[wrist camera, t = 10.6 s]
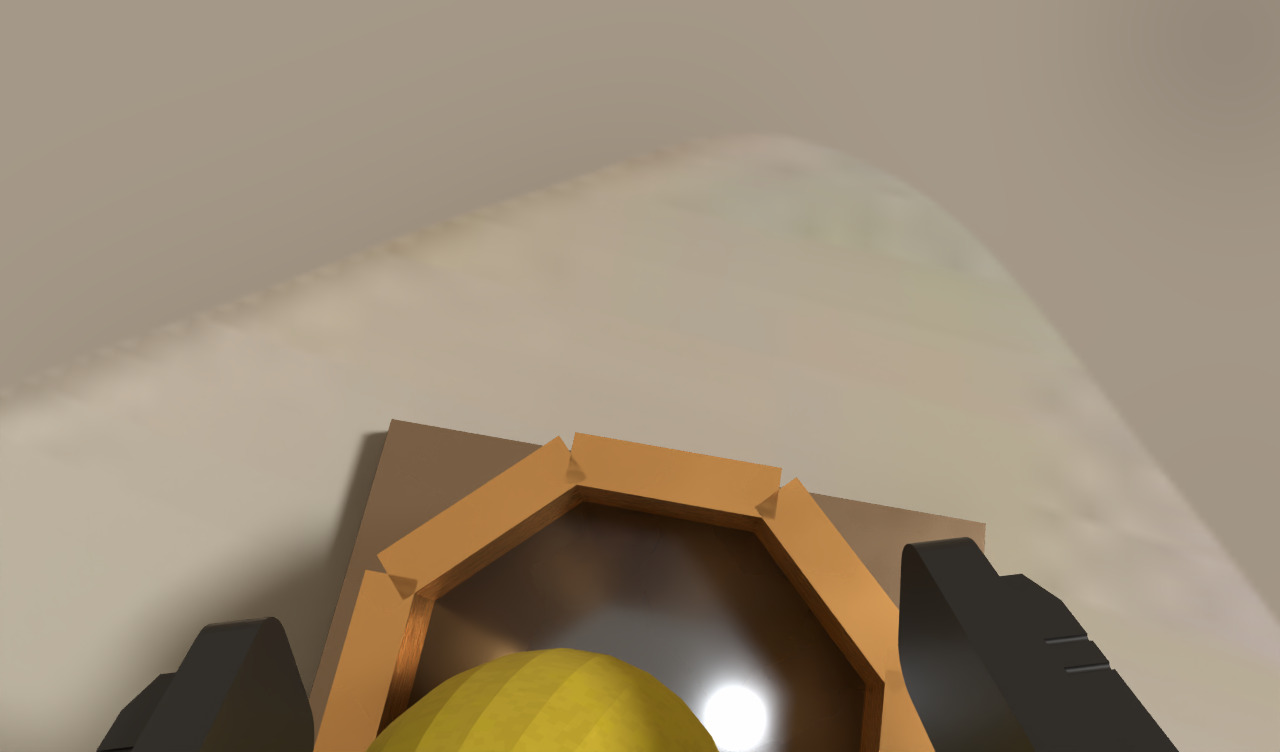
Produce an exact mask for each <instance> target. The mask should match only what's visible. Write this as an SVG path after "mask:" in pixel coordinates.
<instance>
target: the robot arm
mask: <svg viewBox="0 0 1280 752" xmlns="http://www.w3.org/2000/svg"><path fill="white" fill-rule="evenodd" d="M898 651H899V659H900V665H901V670H902V674H903V678H904V682H905V685H906V688H907V691H908V693H909V696H910V698H911V700H912V702H913V705H914V707H915V709H916V711H917V713H918V715H919V718H920V720H921V722H922V724H923V726H924V728H925V730H926V733H927V735H928V737H929V739H930V741H931V743H932V746H933V748H934V750H935V752H1179V751H1178V750H1177V749H1176V747H1175V746H1174V745H1173V743H1172V742H1171V741H1170V740H1169V738H1168V737H1167V736H1166V734H1165V733H1164V732H1163V731H1162V729H1161V728H1160V727H1159V725H1158V724H1157V723H1156V722H1155V720H1154V719H1153V718H1152V716H1151V715H1150V714H1149V713H1148V711H1147V710H1146V709H1145V707H1144V706H1143V705H1142V704H1141V702H1140V701H1139V700H1138V698H1137V697H1136V696H1135V695H1134V693H1133V692H1132V691H1131V689H1130V688H1129V687H1128V686H1127V684H1126V683H1125V682H1124V680H1123V679H1122V678H1121V677H1120V675H1119V674H1118V673H1117V671H1116V670H1115V669H1113V670H1111V668H1110V666H1109V661H1108V660H1107V659H1106V657H1105V656H1104V655H1103V653H1102V652H1101V651H1100V649H1099V648H1098V647H1097V646H1096V644H1095V643H1094V642H1093V641H1089V640H1088V637H1087V633H1086V631H1085V630H1084V629H1083V628H1082V626H1081V625H1080V624H1079V622H1078V621H1077V620H1076V619H1075V617H1074V616H1073V615H1072V613H1071V612H1070V611H1069V610H1068V608H1067V607H1066V606H1065V604H1064V603H1063V602H1062V601H1061V600H1060V599H1059V598H1057V597H1056V596H1054V595H1053V594H1051V593H1050V592H1048V591H1047V590H1045V589H1044V588H1042V587H1041V586H1039V585H1038V584H1036V583H1035V582H1033V581H1032V580H1030V579H1029V578H1027V577H1026V576H1024V575H1023V574H1016V575H1008V576H999V575H998V574H997V572H996V571H995V569H994V568H993V567H992V565H991V564H990V562H989V561H988V559H987V558H986V557H985V555H984V554H983V552H982V551H981V550H980V548H979V547H978V545H977V544H976V543H975V542H974V540H972V539H971V538H969V537H959V538H951V539H942V540H934V541H925V542H917V543H908V544H906V545H905V546H904V548H903V551H902V558H901V579H900V604H899V629H898ZM313 750H314V721H313V715H312V711H311V707H310V704H309V701H308V698H307V695H306V692H305V689H304V686H303V683H302V681H301V678H300V675H299V672H298V669H297V666H296V663H295V660H294V657H293V654H292V651H291V648H290V645H289V642H288V639H287V636H286V633H285V631H284V628H283V626H282V624H281V623H280V622H279V620H278V619H276V618H275V617H266V618H257V619H249V620H240V621H232V622H223V623H215V624H209V625H207V626H205V627H204V628H203V629H202V630H201V631H200V633H199V634H198V636H197V638H196V639H195V641H194V643H193V645H192V646H191V648H190V650H189V652H188V653H187V655H186V657H185V659H184V660H183V662H182V664H181V666H180V667H179V669H178V671H177V672H176V673H168V674H160V675H159V676H158V677H157V678H156V679H155V680H154V681H153V682H152V683H151V684H150V685H149V686H147V687H146V688H145V689H144V690H143V691H142V692H141V693H140V694H139V695H138V696H137V697H136V698H135V699H133V700H132V701H131V702H130V703H129V704H128V705H127V706H126V707H125V708H124V709H123V710H122V711H121V712H120V714H119V715H118V717H117V719H116V720H115V722H114V723H113V725H112V727H111V728H110V730H109V731H108V733H107V735H106V736H105V738H104V739H103V741H102V743H101V744H100V746H99V748H98V749H97V752H313Z"/></svg>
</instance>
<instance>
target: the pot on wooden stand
mask: <svg viewBox="0 0 1280 752" xmlns="http://www.w3.org/2000/svg"><path fill="white" fill-rule="evenodd" d="M781 470H782V468H777V467H772V466H766V465H760V464H754V463H749V462H743V461H737V460H731V459H726V458H720V457H714V456H708V455H703V454H697V453H691V452H685V451H680V450H674V449H668V448H662V447H657V446H651V445H645V444H640V443H634V442H628V441H622V440H617V439H611V438H605V437H599V436H594V435H588V434H582V433H576V432H575V436H574V441H573V445H572V450H571V451H570V450H568V448H567V447H566V445H565V444H564V442H563V441H562V440H561V438H560V437H559V436H558V437H556V438H555V439H553V440H552V441H550V442H549V443H547V444H546V445H544V446H542V445H536V444H530V443H524V442H519V441H513V440H507V439H502V438H496V437H490V436H485V435H479V434H473V433H468V432H462V431H456V430H451V429H445V428H439V427H434V426H428V425H422V424H417V423H411V422H405V421H399V420H394V419H392V420H391V423H390V427H389V430H388V433H387V437H386V440H385V444H384V447H383V450H382V454H381V457H380V461H379V464H378V467H377V471H376V474H375V477H374V481H373V484H372V488H371V491H370V494H369V498H368V501H367V504H366V508H365V511H364V515H363V518H362V521H361V525H360V528H359V532H358V535H357V538H356V542H355V545H354V548H353V552H352V555H351V559H350V562H349V565H348V569H347V572H346V575H345V579H344V582H343V586H342V589H341V592H340V596H339V599H338V603H337V606H336V609H335V613H334V616H333V619H332V623H331V626H330V630H329V633H328V636H327V640H326V643H325V647H324V650H323V653H322V657H321V660H320V663H319V667H318V670H317V674H316V677H315V680H314V684H313V687H312V690H311V694H310V697H309V704H310V707H311V711H312V715H313V721H314V750H313V752H365V751H366V750H367V749H368V747H369V746H370V745H371V743H372V742H373V741H374V740H375V739H376V738H377V737H378V736H379V735H380V734H381V733H382V731H383V730H384V729H385V728H387V727H388V726H389V725H390V724H391V723H392V722H393V721H394V720H395V719H396V718H398V717H399V716H400V715H401V714H403V713H404V712H405V711H406V710H408V709H409V708H410V707H412V706H413V705H414V704H415V703H417V702H418V701H419V700H420V699H422V698H423V697H424V696H425V695H427V694H428V693H429V692H430V691H432V690H433V689H434V688H436V687H437V686H439V685H440V684H441V683H443V682H444V681H446V680H448V679H450V678H451V677H453V676H455V675H457V674H459V673H462V672H464V671H467V670H469V669H472V668H474V667H477V666H479V665H482V664H484V663H487V662H489V661H492V660H494V659H497V658H500V657H502V656H505V655H508V654H512V653H518V652H526V651H536V650H546V649H555V648H570V649H576V650H582V651H588V652H594V653H600V654H606V655H611V656H613V657H615V658H617V659H619V660H622V661H624V662H626V663H628V664H630V665H632V666H635V667H637V668H639V669H641V670H643V671H646V672H648V673H649V674H651V675H652V676H653V677H655V678H656V679H657V680H658V681H660V682H661V683H662V684H664V685H665V686H666V687H667V688H669V689H670V690H671V691H672V692H674V693H675V694H676V695H677V696H679V697H680V698H681V699H682V700H683V701H684V702H685V703H686V705H687V706H688V707H689V708H690V710H691V711H692V712H693V713H694V714H695V716H696V717H697V718H698V719H699V721H700V722H701V723H702V724H703V726H704V727H705V728H706V729H707V731H708V732H709V733H710V734H711V736H712V738H713V740H714V742H715V744H716V746H717V748H718V750H719V752H935V750H934V748H933V746H932V743H931V741H930V739H929V737H928V735H927V733H926V730H925V728H924V726H923V724H922V722H921V720H920V718H919V715H918V713H917V711H916V709H915V707H914V705H913V702H912V700H911V698H910V696H909V693H908V691H907V688H906V685H905V682H904V678H903V674H902V670H901V665H900V659H899V651H898V629H899V604H900V579H901V558H902V551H903V548H904V546H905V545H906V544H908V543H917V542H925V541H934V540H942V539H951V538H959V537H969V538H971V539H972V540H974V542H975V543H976V544H977V545H978V547H979V548H980V550H981V551H982V552H983V554H984V545H985V526H986V524H985V523H979V522H973V521H968V520H962V519H956V518H951V517H945V516H939V515H934V514H928V513H922V512H917V511H911V510H905V509H900V508H894V507H888V506H882V505H877V504H871V503H865V502H860V501H854V500H848V499H843V498H837V497H831V496H826V495H820V494H814V493H809V492H808V491H807V490H806V489H805V487H804V486H803V485H802V484H801V482H800V481H799V480H798V478H797V477H796V478H795V479H794V480H792V481H791V482H789V483H788V484H786V485H785V486H784V487H782V488H780V487H779V485H780V478H781Z"/></svg>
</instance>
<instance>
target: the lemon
mask: <svg viewBox="0 0 1280 752" xmlns="http://www.w3.org/2000/svg"><path fill="white" fill-rule="evenodd" d="M365 752H719V750H718V748H717V746H716V744H715V742H714V740H713V738H712V736H711V734H710V733H709V732H708V731H707V729H706V728H705V727H704V726H703V724H702V723H701V722H700V721H699V719H698V718H697V717H696V716H695V714H694V713H693V712H692V711H691V710H690V708H689V707H688V706H687V705H686V703H685V702H684V701H683V700H682V699H681V698H680V697H679V696H677V695H676V694H675V693H674V692H672V691H671V690H670V689H669V688H667V687H666V686H665V685H664V684H662V683H661V682H660V681H658V680H657V679H656V678H655V677H653V676H652V675H651V674H649V673H648V672H646V671H643V670H641V669H639V668H637V667H635V666H632V665H630V664H628V663H626V662H624V661H622V660H619V659H617V658H615V657H613V656H611V655H606V654H600V653H594V652H588V651H582V650H576V649H570V648H555V649H546V650H536V651H526V652H518V653H512V654H508V655H505V656H502V657H500V658H497V659H494V660H492V661H489V662H487V663H484V664H482V665H479V666H477V667H474V668H472V669H469V670H467V671H464V672H462V673H459V674H457V675H455V676H453V677H451V678H450V679H448V680H446V681H444V682H443V683H441V684H440V685H439V686H437V687H436V688H434V689H433V690H432V691H430V692H429V693H428V694H427V695H425V696H424V697H423V698H422V699H420V700H419V701H418V702H417V703H415V704H414V705H413V706H412V707H410V708H409V709H408V710H406V711H405V712H404V713H403V714H401V715H400V716H399V717H398V718H396V719H395V720H394V721H393V722H392V723H391V724H390V725H389V726H388V727H387V728H385V729H384V730H383V731H382V733H381V734H380V735H379V736H378V737H377V738H376V739H375V740H374V741H373V742H372V743H371V745H370V746H369V747H368V749H367V750H366V751H365Z"/></svg>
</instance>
